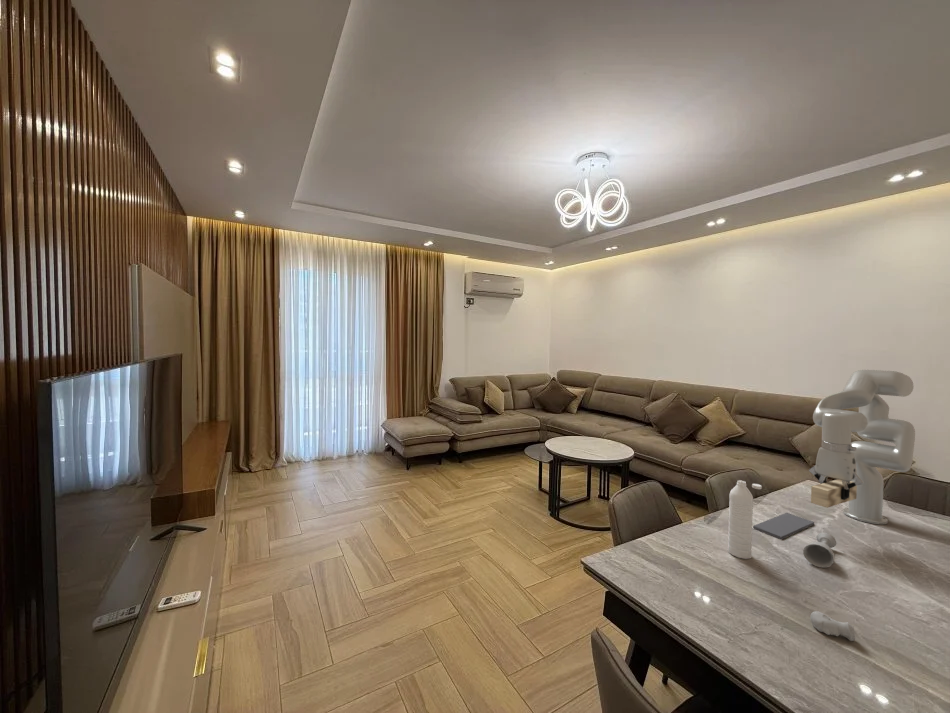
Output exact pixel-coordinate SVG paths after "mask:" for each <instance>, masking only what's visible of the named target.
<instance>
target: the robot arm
mask: <svg viewBox="0 0 950 713" xmlns="http://www.w3.org/2000/svg"><path fill="white" fill-rule="evenodd" d="M913 391H914V382H913V379H912V378H911V377H910V376H909V375H907V374H904V373H903V372H900V371H895V370H881V369H876V370H875V369H860V370H856V371H854V372H853V373H851V375H850V376H849V378H848V380H847V382H846V384H845V385H844V387H843V389H842V390H841V391H838V392H835V393H833V394H831V395H828V396H825V397H823V398H822V399H821V400H820V401H819V402H818V404H817V406H816V407H815V409H814V411H813V414H812V420H813V423H814V424H815V425H816V426H817V427H820V428H821V446H820V447H819V448H818V451H817V454H816V459H815V460H816V461H815V465H813V466H812V467H811V468H809V470H808V471H809V472H810V474H812V475H813V476H814V477H815V479H817V480H818V483H819V484H822V483H826V482H828V478H831V479H834V480H837V479H839V480H842V484H843V488H842V491H841V499H842V500H845V499H847V498H849V494H850V488H852V487H854V486H857V496H856V499H854V500H851V501H848V507H846V508H843V510H842V513H843V514H844V515H846V517H849V518H852V519H854V520H856V521H860V522H863V523H868V524H873V525H886V524H888V523H889V522H888V519H887V518H886V517H885V516H883V505H884V504H883V503H884V481H885V480H884V477H883V475H882V473H881V472H880V471H879V470H878V469H879V468H880V469H885V470H890V471H895V472H900V473H901V472H902V473H907V472H909V471H910V470H911V468H912V464H913V459H914V451H915V442H916V430H915V426H914V425H913V423H911V422H909V421H908V420H904V419H903V420H902V419H896V418H895V419H894V418H889V413H890V407H889V404H888V403H887V401H885V400H884V399H883V398H882V397H881V396H891V397H902V398H903V397H907V396H910V395H911V394H912V392H913ZM856 408H858V411H855V410H854V411H853V410H846V409H856ZM852 433H856V434H857V435H858V436H859V437H861V438H863V439H868V440H873V441H878V442H886V443H892V444H894V445H888V444H884V443H883V444H882V443H877V442H871V441H865V440H864V441H863V440H856V441H852ZM850 481H852V482H853V483H850Z"/></svg>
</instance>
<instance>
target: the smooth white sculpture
mask: <svg viewBox="0 0 950 713" xmlns="http://www.w3.org/2000/svg"><path fill="white" fill-rule="evenodd" d="M809 618H810V619H809V620H810V622H811V624H812V625H813V627H814V628H815V629H816V630H817V631H818V632H820V633H825V634H826V635H829V636H836V637H839V636H843V637H845V638H847V639H848V640H849V641H850V642H855V641H856V633H855V628H854V626H853V625H852V624H851V623H850V622H848V621H847V622H844V621H843V622H842V621H839V620H835V619H834V618H831V617H830V616H828V615H827V614H825V613H823V612H821V611H818V610H817V611H816V610H815V611H812V612H811V614H810V616H809Z"/></svg>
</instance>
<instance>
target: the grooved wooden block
mask: <svg viewBox="0 0 950 713" xmlns="http://www.w3.org/2000/svg"><path fill="white" fill-rule="evenodd" d="M850 483H853V482H852V481H850ZM842 488H843V484H842V480H839V479H834V480H830V481H827V482H826V483H822V484H820V483H819V484H815V485H812V486H811V490H810V493H811V494H810V503H811V504H815V505H817V506H820V507H823V508H826V509H828V508H831V507H833V506H838V505H841V504H843V503H848V502H849V501H851V500H854V499H856V496H857V486H854V487H852V488H850V494H849V498H847V499H845V500H842V499H841V491H842Z"/></svg>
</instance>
